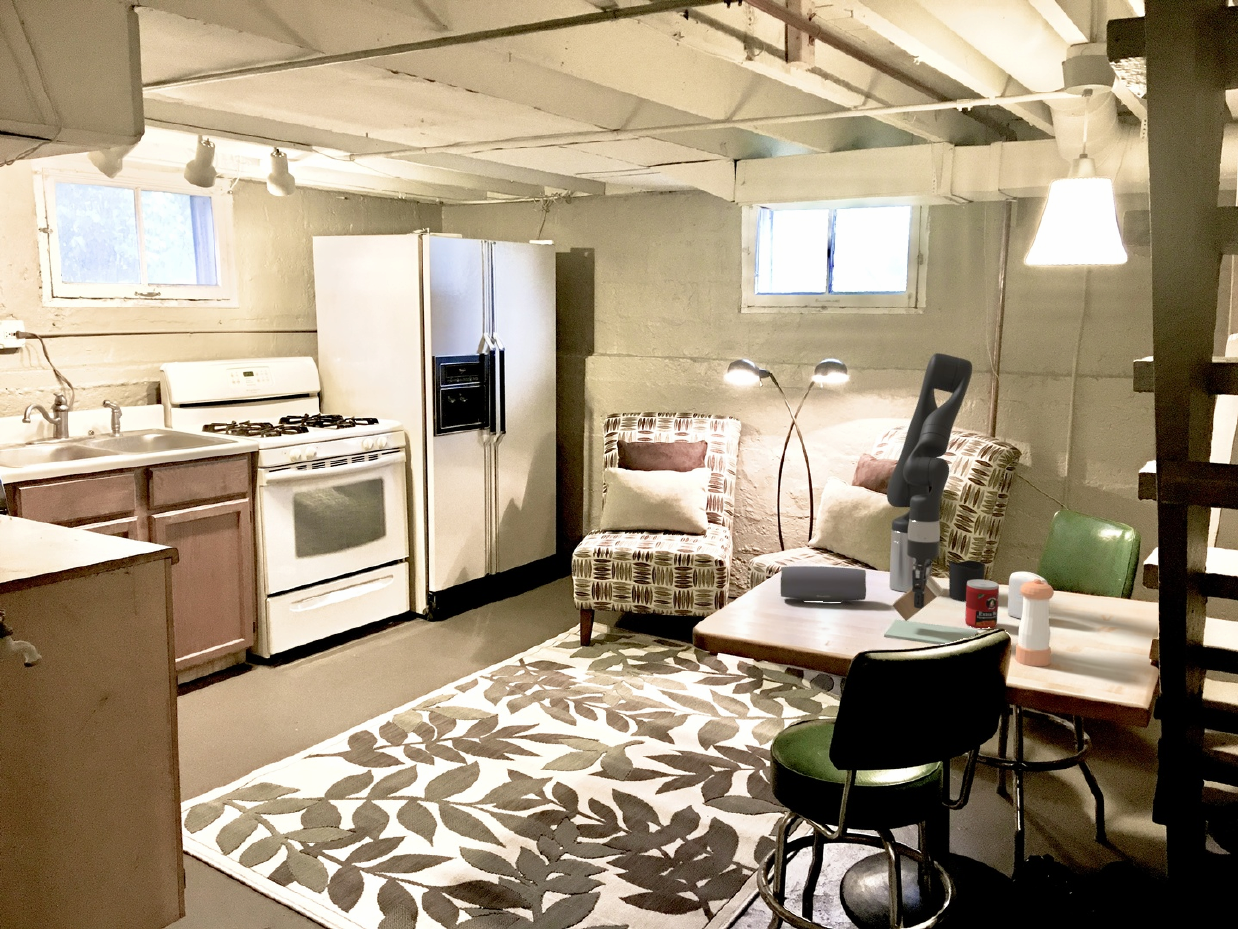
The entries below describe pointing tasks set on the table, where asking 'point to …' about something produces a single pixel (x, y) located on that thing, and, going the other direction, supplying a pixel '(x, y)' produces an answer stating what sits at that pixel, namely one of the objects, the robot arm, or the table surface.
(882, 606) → the table surface
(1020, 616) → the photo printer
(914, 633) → the rubber mat
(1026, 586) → the salt shaker
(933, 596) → the walnut block
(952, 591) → the pen holder
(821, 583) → the bluetooth speaker
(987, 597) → the canned food
